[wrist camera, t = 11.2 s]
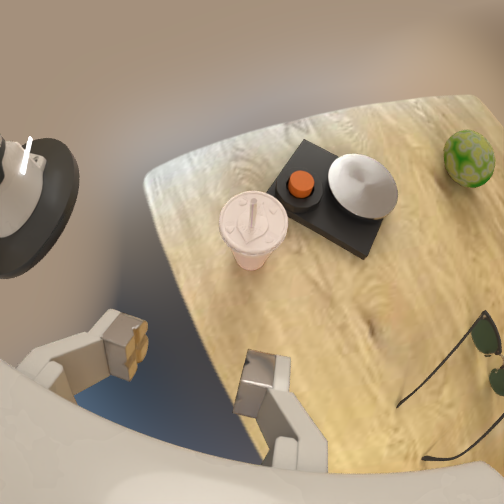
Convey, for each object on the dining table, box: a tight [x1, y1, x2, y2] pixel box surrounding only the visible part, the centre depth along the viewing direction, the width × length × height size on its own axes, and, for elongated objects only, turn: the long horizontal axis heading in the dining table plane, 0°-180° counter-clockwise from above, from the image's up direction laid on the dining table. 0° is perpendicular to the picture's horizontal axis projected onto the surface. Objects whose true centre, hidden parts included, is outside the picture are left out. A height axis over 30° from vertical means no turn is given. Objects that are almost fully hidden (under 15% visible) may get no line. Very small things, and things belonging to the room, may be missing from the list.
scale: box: [266, 139, 383, 260], centre depth 38 cm, size 15×12×3 cm
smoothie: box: [219, 191, 288, 270], centre depth 30 cm, size 6×6×14 cm
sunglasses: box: [396, 310, 504, 461], centre depth 28 cm, size 16×17×5 cm
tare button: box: [288, 171, 314, 198], centre depth 36 cm, size 3×3×2 cm
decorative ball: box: [444, 130, 495, 188], centre depth 38 cm, size 10×10×10 cm
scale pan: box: [327, 154, 398, 220], centre depth 37 cm, size 10×10×1 cm
